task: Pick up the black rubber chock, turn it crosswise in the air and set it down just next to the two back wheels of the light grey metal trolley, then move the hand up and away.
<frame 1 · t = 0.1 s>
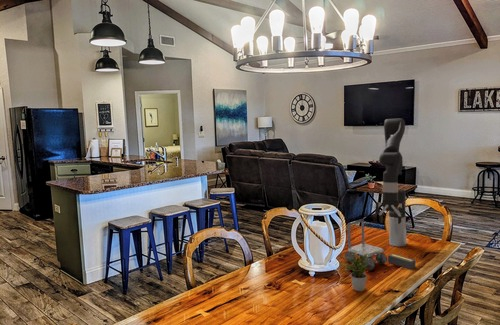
hand: (390, 223, 196), 22 cm above the table, tool pointing down, fingers open, 8 cm apart
chock: (401, 265, 199), on the table
house plant: (359, 287, 175), on the table
trolley: (365, 263, 203), on the table
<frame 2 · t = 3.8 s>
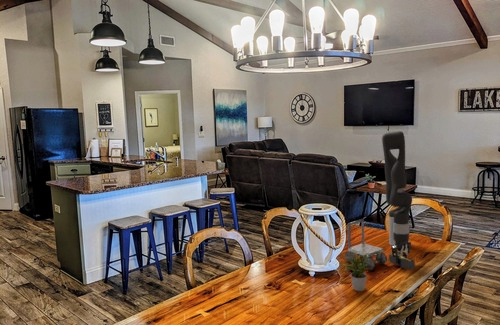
hand: (401, 263, 199), 1 cm above the table, tool pointing down, fingers closed on chock, 5 cm apart
chock: (401, 264, 199), on the table, touching gripper
everything else where it was.
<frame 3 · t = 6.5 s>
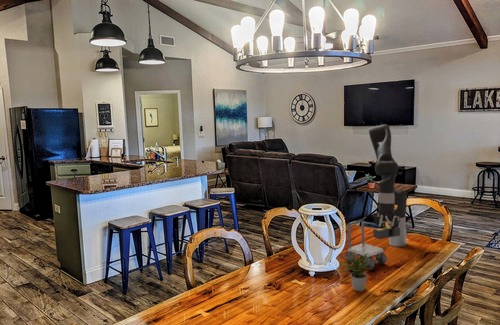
hand: (386, 234, 191), 18 cm above the table, tool pointing down, fingers closed on chock, 5 cm apart
chock: (386, 236, 191), point 17 cm above the table, touching gripper
everything else where it was.
when the fingers open (2 cm above the table, at t = 9.5 s): chock drops 2 cm, on the table.
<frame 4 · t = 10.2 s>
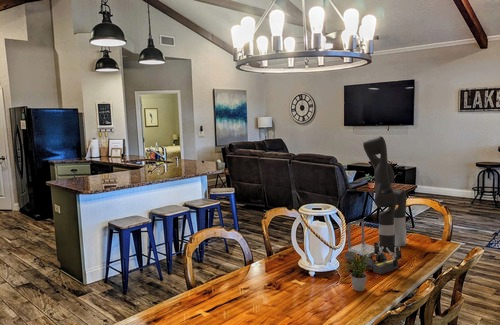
hand: (387, 264, 192), 3 cm above the table, tool pointing down, fingers open, 8 cm apart
chock: (385, 270, 193), on the table
everything else where it was.
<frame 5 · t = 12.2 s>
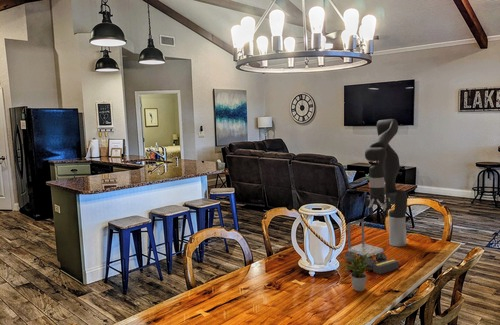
hand: (378, 215, 202), 25 cm above the table, tool pointing down, fingers open, 8 cm apart
nothing on the table moved.
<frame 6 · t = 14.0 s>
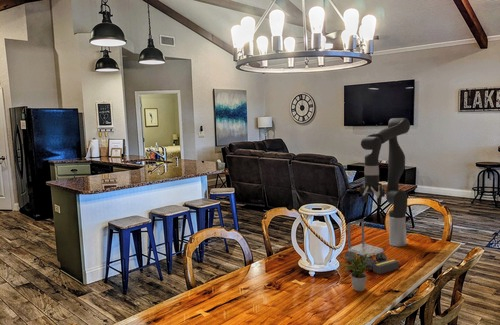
hand: (372, 203, 208), 30 cm above the table, tool pointing down, fingers open, 8 cm apart
nothing on the table moved.
at the end: chock 0.3 cm from the target spot on the table beside the trolley, on the table; chock tilted 0°; the gripper is holding nothing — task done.
